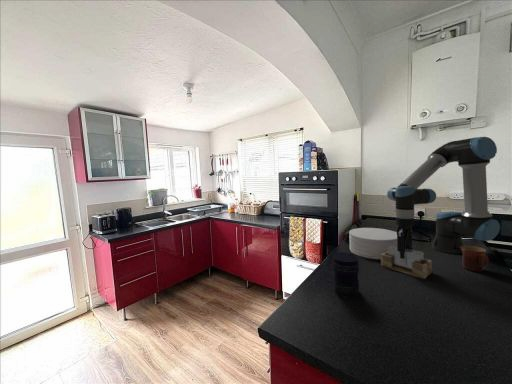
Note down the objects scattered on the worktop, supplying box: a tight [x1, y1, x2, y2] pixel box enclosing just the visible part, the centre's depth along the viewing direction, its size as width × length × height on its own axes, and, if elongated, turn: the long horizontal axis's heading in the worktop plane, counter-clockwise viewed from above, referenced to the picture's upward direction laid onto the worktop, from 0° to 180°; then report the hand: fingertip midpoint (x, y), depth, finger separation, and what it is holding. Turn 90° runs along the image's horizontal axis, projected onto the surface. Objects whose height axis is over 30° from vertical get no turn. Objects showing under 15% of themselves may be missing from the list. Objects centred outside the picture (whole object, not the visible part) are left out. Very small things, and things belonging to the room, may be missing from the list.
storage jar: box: [332, 252, 360, 298], centre depth 88 cm, size 10×10×15 cm
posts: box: [380, 251, 433, 280], centre depth 106 cm, size 10×19×6 cm, turn 36°
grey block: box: [388, 246, 425, 269], centre depth 105 cm, size 4×14×8 cm, turn 36°
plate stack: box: [348, 227, 398, 260], centre depth 132 cm, size 28×28×12 cm
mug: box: [461, 245, 489, 273], centre depth 100 cm, size 12×9×10 cm
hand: (405, 262), depth 106 cm, fingers closed on grey block, 4 cm apart
